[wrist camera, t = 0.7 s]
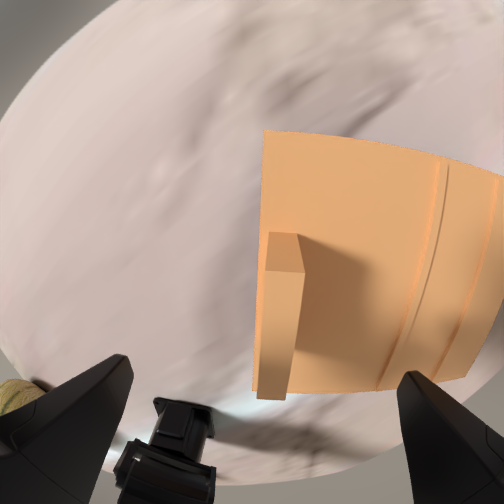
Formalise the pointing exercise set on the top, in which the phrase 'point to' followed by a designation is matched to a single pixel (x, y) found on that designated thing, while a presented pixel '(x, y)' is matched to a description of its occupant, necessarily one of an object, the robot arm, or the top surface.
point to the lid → (371, 265)
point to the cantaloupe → (17, 394)
